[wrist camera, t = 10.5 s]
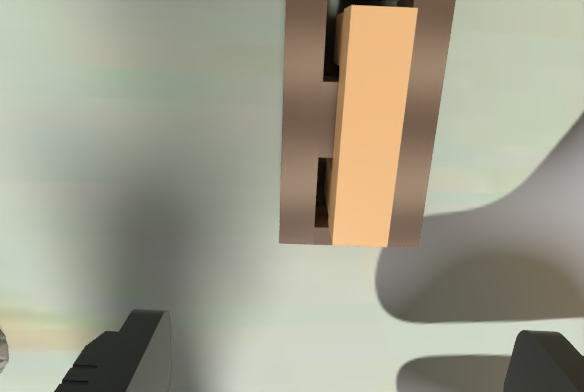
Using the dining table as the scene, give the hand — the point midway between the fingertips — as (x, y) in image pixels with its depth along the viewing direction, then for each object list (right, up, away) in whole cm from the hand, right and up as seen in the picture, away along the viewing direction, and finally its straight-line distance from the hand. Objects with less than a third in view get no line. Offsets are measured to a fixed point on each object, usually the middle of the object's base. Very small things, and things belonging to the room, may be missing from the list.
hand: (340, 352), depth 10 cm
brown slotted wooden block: (+3, +9, +19) cm, 21 cm away
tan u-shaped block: (+3, +9, +19) cm, 21 cm away
